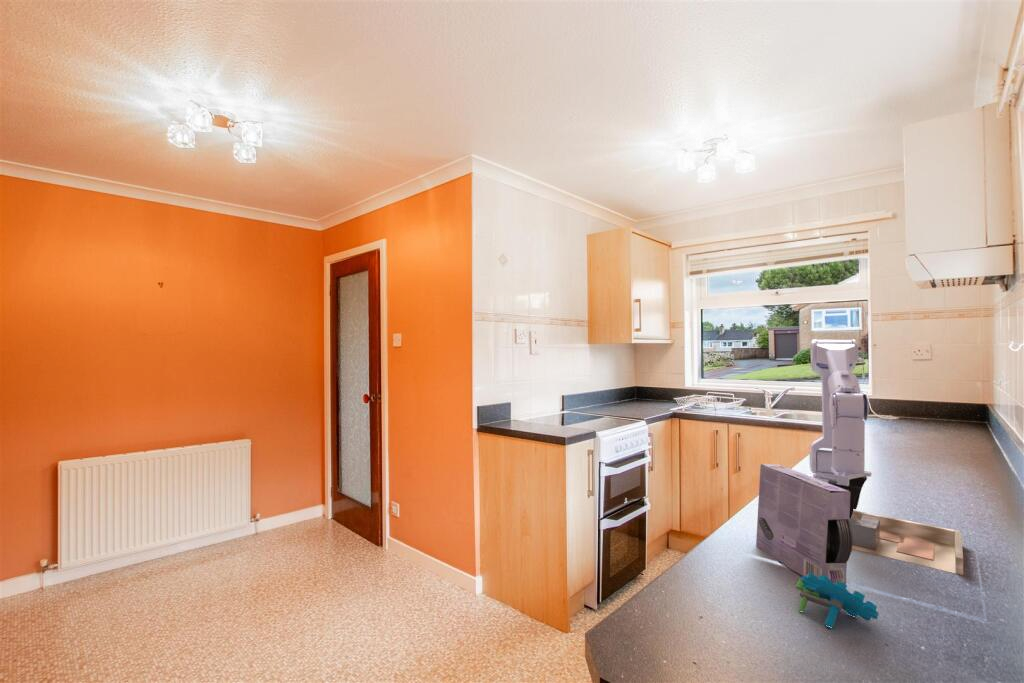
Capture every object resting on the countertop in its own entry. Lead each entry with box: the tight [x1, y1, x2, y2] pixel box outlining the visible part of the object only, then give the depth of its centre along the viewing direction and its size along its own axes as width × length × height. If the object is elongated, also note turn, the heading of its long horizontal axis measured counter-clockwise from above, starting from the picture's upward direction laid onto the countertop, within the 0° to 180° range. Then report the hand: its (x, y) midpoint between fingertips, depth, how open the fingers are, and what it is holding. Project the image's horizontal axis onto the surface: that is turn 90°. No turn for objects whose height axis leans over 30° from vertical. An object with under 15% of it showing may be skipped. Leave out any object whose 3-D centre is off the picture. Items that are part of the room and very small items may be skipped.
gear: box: [795, 573, 879, 628], centre depth 74 cm, size 11×6×10 cm
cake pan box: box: [755, 463, 853, 585], centre depth 92 cm, size 19×5×18 cm, turn 9°
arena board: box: [851, 509, 964, 576], centre depth 103 cm, size 23×18×4 cm
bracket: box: [849, 515, 880, 551], centre depth 104 cm, size 9×8×4 cm
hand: (847, 512), depth 103 cm, fingers open, 7 cm apart
